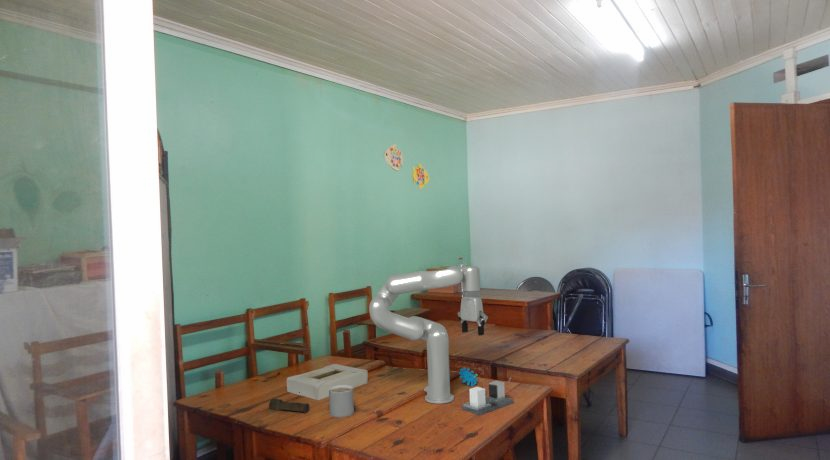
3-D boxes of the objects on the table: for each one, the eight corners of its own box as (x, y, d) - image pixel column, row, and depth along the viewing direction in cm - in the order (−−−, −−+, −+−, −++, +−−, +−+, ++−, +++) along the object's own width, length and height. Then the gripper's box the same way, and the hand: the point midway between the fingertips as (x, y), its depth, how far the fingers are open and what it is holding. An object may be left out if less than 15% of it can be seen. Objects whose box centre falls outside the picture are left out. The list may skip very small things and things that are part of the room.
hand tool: (310, 411, 218) (310, 400, 218) (304, 414, 214) (304, 403, 214) (273, 407, 225) (273, 396, 225) (267, 410, 221) (267, 399, 221)
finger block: (470, 406, 213) (469, 388, 213) (478, 403, 216) (478, 386, 216) (478, 408, 209) (477, 391, 209) (487, 405, 213) (486, 388, 213)
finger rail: (461, 409, 213) (460, 388, 213) (495, 397, 227) (494, 378, 227) (479, 415, 206) (478, 394, 206) (513, 402, 219) (512, 382, 219)
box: (319, 402, 231) (368, 383, 256) (318, 384, 231) (367, 367, 256) (286, 394, 246) (336, 377, 271) (285, 377, 246) (335, 362, 271)
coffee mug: (343, 418, 207) (342, 393, 207) (324, 414, 213) (323, 390, 213) (364, 408, 218) (363, 384, 219) (345, 405, 224) (345, 381, 224)
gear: (465, 385, 241) (457, 366, 248) (459, 392, 244) (450, 374, 251) (483, 383, 248) (474, 366, 254) (476, 390, 251) (468, 373, 257)
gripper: (451, 294, 232) (453, 332, 232) (480, 296, 218) (481, 337, 218) (463, 292, 236) (464, 329, 236) (492, 295, 223) (493, 334, 223)
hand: (472, 333), depth 227 cm, fingers open, 9 cm apart
